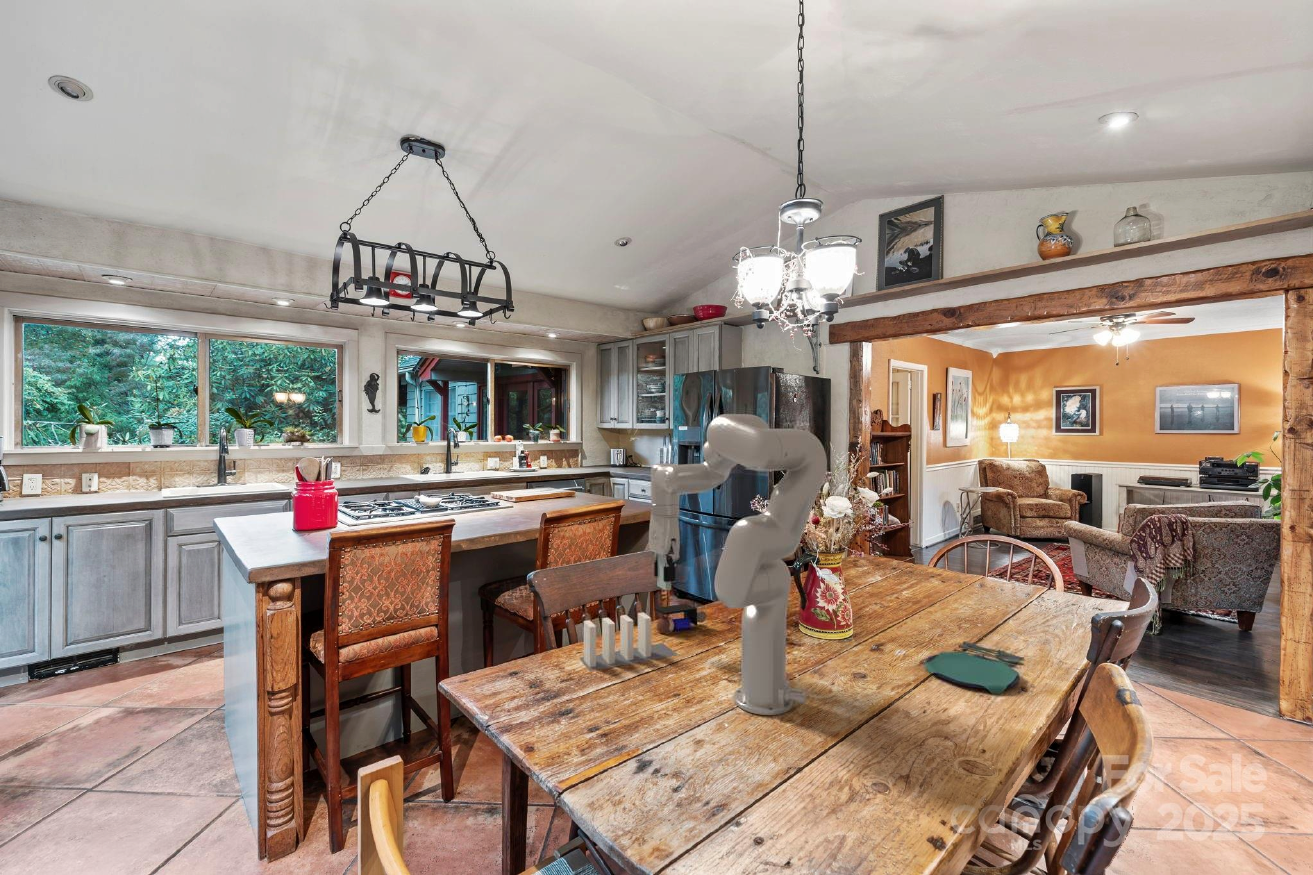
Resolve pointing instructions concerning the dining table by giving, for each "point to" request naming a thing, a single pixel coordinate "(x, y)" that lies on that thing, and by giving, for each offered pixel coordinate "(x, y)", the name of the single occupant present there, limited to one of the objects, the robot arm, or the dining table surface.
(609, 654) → the ivory tile
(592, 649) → the ivory tile
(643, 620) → the ivory tile
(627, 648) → the ivory tile
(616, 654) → the mat
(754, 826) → the dining table surface
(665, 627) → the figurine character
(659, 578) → the tile
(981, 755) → the dining table surface
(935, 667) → the cutlery set
